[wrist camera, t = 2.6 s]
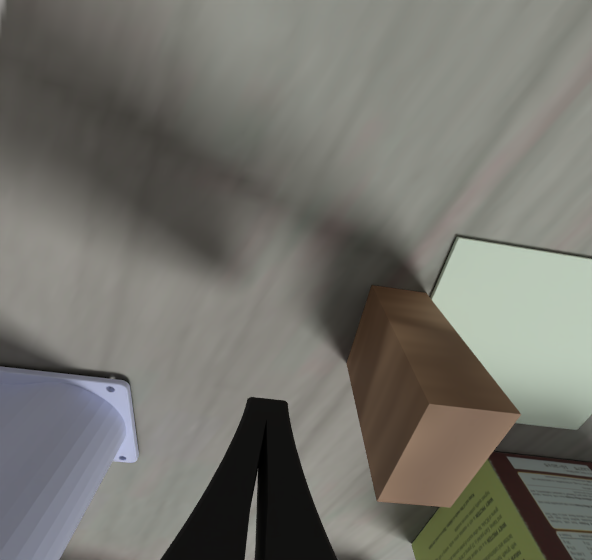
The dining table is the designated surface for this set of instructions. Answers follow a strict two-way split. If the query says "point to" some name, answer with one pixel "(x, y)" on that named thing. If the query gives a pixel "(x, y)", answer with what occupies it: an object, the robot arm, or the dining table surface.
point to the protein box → (515, 513)
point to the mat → (525, 325)
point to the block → (422, 400)
